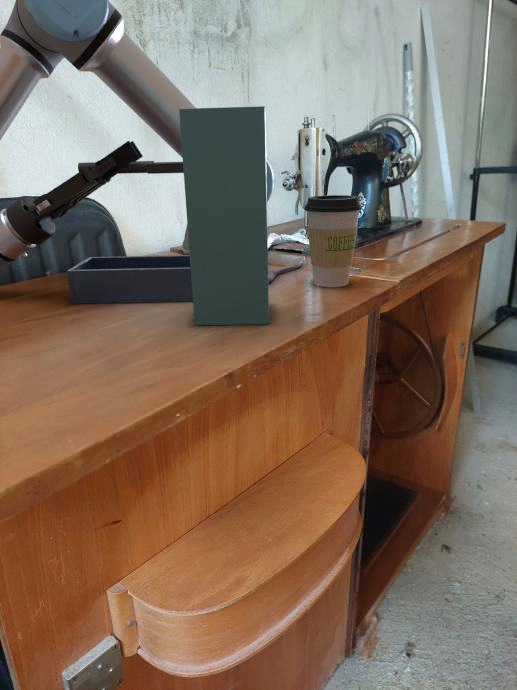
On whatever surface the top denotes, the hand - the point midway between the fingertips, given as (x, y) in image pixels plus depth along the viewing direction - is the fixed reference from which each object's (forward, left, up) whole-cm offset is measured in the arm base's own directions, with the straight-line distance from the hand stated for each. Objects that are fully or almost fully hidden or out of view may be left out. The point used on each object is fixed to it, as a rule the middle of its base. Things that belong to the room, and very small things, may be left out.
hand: (135, 148), depth 82 cm
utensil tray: (0, 0, -24) cm, 24 cm away
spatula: (-39, -7, -24) cm, 46 cm away
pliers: (-25, +8, -24) cm, 35 cm away
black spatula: (0, 0, -4) cm, 4 cm away
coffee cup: (-25, +21, -24) cm, 40 cm away
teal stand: (0, +21, -24) cm, 31 cm away
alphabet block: (-11, -14, -24) cm, 30 cm away
